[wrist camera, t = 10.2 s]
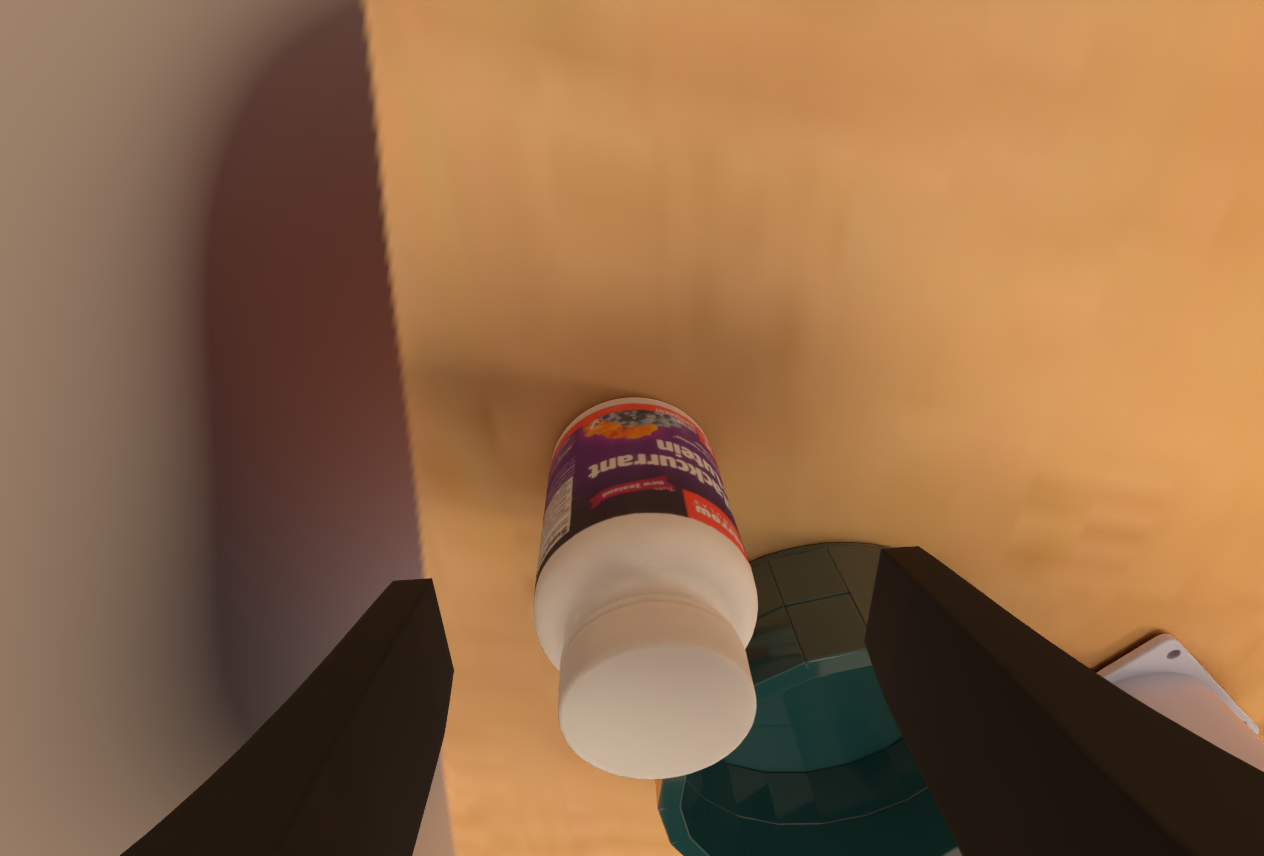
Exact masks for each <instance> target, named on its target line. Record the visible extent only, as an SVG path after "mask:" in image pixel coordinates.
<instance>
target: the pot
mask: <svg viewBox="0 0 1264 856" xmlns="http://www.w3.org/2000/svg"><path fill="white" fill-rule="evenodd" d="M885 548H888V547H884V546H879V545H873V544H862V543H825V544H816V545H808V546H802V547H798V548H793V549H789V550H784V551H780V552H777V553H774V554H771V555H768V556H765V557H762V558H759V559H756V560H754V561H752V562H750V563H749V564H750V566H751V570H752V572H753V577H754V582H755V586H756V590H757V598H758V612H757V620H756V625H755V628H754V632H753V635H752V637H751V639H750V642H749V644H748V645H747V647H746V649H745V651H746V654H747V660H748V664H749V669H750V673H751V677H752V681H753V685H754V689H755V694H756V714H755V718H754V722H753V725H752V727H751V729H750V731H749V732H748V734H747V736H746V737H745V738H744V739H743V741H742V742H741V743H740V744H739V746H738V747H737V748H736V749H735V750H733V751H732V752H731V753H730V754H729V755H727V756H726V757H724V758H723V759H721V760H719V761H718V762H716V763H715V764H713V765H711V766H709V767H706V768H704V769H701V770H699V771H696V772H694V773H691V774H687V775H683V776H678V777H672V778H665V779H655V784H656V795H657V806H658V811H659V814H660V817H661V819H662V822H663V825H664V828H665V830H666V833H667V836H668V839H669V841H670V843H671V845H672V846H673V847H675V848H676V849H677V850H678V851H679V852H680V853H681V854H682V855H683V856H962V855H961V852H960V850H959V848H958V846H957V844H956V842H955V840H954V838H953V836H952V834H951V832H950V830H949V828H948V826H947V824H946V822H945V820H944V818H943V816H942V814H941V812H940V810H939V808H938V806H937V804H936V802H935V800H934V798H933V796H932V794H931V792H930V790H929V788H928V786H927V784H926V782H925V780H924V778H923V776H922V774H921V772H920V770H919V768H918V766H917V764H916V762H915V760H914V758H913V756H912V754H911V752H910V750H909V748H908V746H907V744H906V742H905V740H904V738H903V736H902V734H901V732H900V730H899V728H898V726H897V724H896V722H895V720H894V718H893V716H892V714H891V712H890V710H889V708H888V706H887V704H886V701H885V699H884V696H883V694H882V691H881V688H880V685H879V683H878V680H877V677H876V675H875V672H874V669H873V666H872V663H871V660H870V657H869V654H868V651H867V648H866V645H865V643H864V638H865V633H866V627H867V622H868V617H869V611H870V606H871V600H872V595H873V590H874V584H875V579H876V573H877V568H878V562H879V557H880V552H881V549H885Z"/></svg>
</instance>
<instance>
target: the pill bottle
mask: <svg viewBox="0 0 1264 856" xmlns="http://www.w3.org/2000/svg"><path fill="white" fill-rule="evenodd" d="M757 612H758V598H757V590H756V586H755V582H754V577H753V572H752V570H751V566H750V564H749V561H748V559H747V556H746V553H745V550H744V547H743V544H742V541H741V538H740V535H739V532H738V529H737V526H736V523H735V520H734V517H733V514H732V511H731V508H730V505H729V501H728V498H727V495H726V492H725V489H724V486H723V482H722V479H721V476H720V473H719V469H718V466H717V463H716V460H715V456H714V453H713V451H712V449H711V447H710V444H709V442H708V440H707V438H706V436H705V434H704V432H703V431H702V429H701V428H700V427H699V425H698V424H697V423H696V422H695V421H694V420H693V419H692V418H691V417H689V416H688V415H687V414H686V413H684V412H683V411H681V410H680V409H678V408H676V407H674V406H672V405H670V404H668V403H665V402H662V401H659V400H654V399H650V398H639V397H629V398H619V399H614V400H610V401H606V402H603V403H601V404H598V405H596V406H594V407H592V408H590V409H588V410H586V411H585V412H583V413H582V414H581V415H579V416H578V417H577V418H576V419H574V420H573V421H572V422H571V423H570V424H569V426H568V427H567V428H566V429H565V431H564V432H563V434H562V435H561V437H560V438H559V440H558V442H557V444H556V447H555V449H554V452H553V456H552V461H551V466H550V471H549V479H548V487H547V494H546V503H545V511H544V517H543V528H542V535H541V544H540V552H539V561H538V569H537V575H536V584H535V596H534V623H535V629H536V633H537V636H538V639H539V642H540V644H541V647H542V649H543V651H544V652H545V654H546V656H547V657H548V658H549V660H550V661H551V663H552V664H553V665H554V666H555V667H556V668H557V669H558V670H559V671H560V681H559V715H558V717H559V724H560V728H561V732H562V734H563V737H564V739H565V740H566V742H567V743H568V745H569V746H570V748H571V749H572V750H573V751H574V752H575V753H576V754H577V755H578V756H580V757H581V758H582V759H583V760H584V761H586V762H587V763H589V764H591V765H592V766H594V767H596V768H598V769H601V770H603V771H605V772H608V773H611V774H614V775H618V776H622V777H627V778H635V779H665V778H672V777H678V776H683V775H687V774H691V773H694V772H696V771H699V770H701V769H704V768H706V767H709V766H711V765H713V764H715V763H716V762H718V761H719V760H721V759H723V758H724V757H726V756H727V755H729V754H730V753H731V752H732V751H733V750H735V749H736V748H737V747H738V746H739V744H740V743H741V742H742V741H743V739H744V738H745V737H746V736H747V734H748V732H749V731H750V729H751V727H752V725H753V722H754V718H755V714H756V694H755V689H754V685H753V681H752V677H751V673H750V669H749V664H748V660H747V654H746V651H745V649H746V647H747V645H748V644H749V642H750V639H751V637H752V635H753V632H754V628H755V625H756V620H757Z"/></svg>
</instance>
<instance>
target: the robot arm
mask: <svg viewBox="0 0 1264 856" xmlns="http://www.w3.org/2000/svg"><path fill="white" fill-rule="evenodd" d="M864 643H865V645H866V648H867V651H868V654H869V657H870V660H871V663H872V666H873V669H874V672H875V675H876V677H877V680H878V683H879V685H880V688H881V691H882V694H883V696H884V699H885V701H886V704H887V706H888V708H889V710H890V712H891V714H892V716H893V718H894V720H895V722H896V724H897V726H898V728H899V730H900V732H901V734H902V736H903V738H904V740H905V742H906V744H907V746H908V748H909V750H910V752H911V754H912V756H913V758H914V760H915V762H916V764H917V766H918V768H919V770H920V772H921V774H922V776H923V778H924V780H925V782H926V784H927V786H928V788H929V790H930V792H931V794H932V796H933V798H934V800H935V802H936V804H937V806H938V808H939V810H940V812H941V814H942V816H943V818H944V820H945V822H946V824H947V826H948V828H949V830H950V832H951V834H952V836H953V838H954V840H955V842H956V844H957V846H958V848H959V850H960V852H961V855H962V856H1264V741H1263V740H1262V739H1261V738H1260V737H1259V736H1258V734H1259V731H1260V730H1259V728H1258V726H1257V725H1256V724H1255V723H1254V722H1253V721H1252V720H1251V719H1250V718H1249V717H1248V716H1247V715H1246V713H1245V712H1244V711H1243V710H1242V709H1241V708H1240V707H1239V706H1238V705H1237V704H1236V703H1235V702H1234V700H1233V699H1232V698H1231V697H1230V696H1229V695H1228V694H1227V693H1226V692H1225V691H1224V690H1223V689H1222V687H1221V686H1220V685H1219V684H1218V683H1217V682H1216V681H1215V680H1214V679H1213V678H1212V677H1211V676H1210V674H1209V673H1208V672H1207V671H1206V670H1205V669H1204V668H1203V667H1202V666H1201V665H1200V664H1199V663H1198V661H1197V660H1196V659H1195V658H1194V657H1193V656H1192V655H1191V654H1190V653H1189V652H1188V651H1187V650H1186V648H1185V647H1184V646H1183V645H1182V644H1181V643H1180V642H1179V641H1178V640H1177V639H1176V638H1175V637H1174V636H1173V635H1171V634H1160V635H1158V636H1156V637H1154V638H1153V639H1151V640H1149V641H1148V642H1146V643H1144V644H1143V645H1141V646H1139V647H1138V648H1136V649H1134V650H1133V651H1131V652H1129V653H1128V654H1126V655H1124V656H1123V657H1121V658H1119V659H1118V660H1116V661H1114V662H1113V663H1111V664H1109V665H1108V666H1106V667H1105V668H1103V669H1101V670H1100V671H1098V672H1094V671H1093V670H1091V669H1090V668H1088V667H1086V666H1085V665H1083V664H1082V663H1080V662H1079V661H1077V660H1076V659H1074V658H1073V657H1071V656H1070V655H1069V654H1067V653H1066V652H1064V651H1063V650H1061V649H1060V648H1058V647H1057V646H1055V645H1054V644H1052V643H1051V642H1050V641H1048V640H1047V639H1045V638H1044V637H1043V636H1041V635H1040V634H1038V633H1037V632H1035V631H1034V630H1033V629H1031V628H1030V627H1028V626H1027V625H1026V624H1024V623H1023V622H1021V621H1020V620H1019V619H1017V618H1016V617H1014V616H1013V615H1012V614H1010V613H1009V612H1008V611H1006V610H1005V609H1004V608H1002V607H1001V606H999V605H998V604H997V603H995V602H994V601H993V600H991V599H990V598H989V597H987V596H986V595H985V594H983V593H982V592H981V591H979V590H978V589H976V588H975V587H974V586H972V585H971V584H970V583H968V582H967V581H966V580H964V579H963V578H962V577H960V576H959V575H958V574H956V573H955V572H954V571H952V570H951V569H950V568H948V567H947V566H945V565H944V564H943V563H941V562H940V561H939V560H937V559H936V558H934V557H933V556H932V555H930V554H929V553H927V552H926V551H924V550H923V549H922V548H920V547H919V546H915V547H900V548H885V549H881V552H880V557H879V562H878V568H877V573H876V579H875V584H874V590H873V595H872V600H871V606H870V611H869V617H868V622H867V627H866V633H865V638H864ZM453 673H454V668H453V664H452V660H451V656H450V652H449V648H448V643H447V639H446V635H445V631H444V627H443V622H442V618H441V614H440V610H439V606H438V602H437V597H436V593H435V589H434V585H433V581H432V578H430V579H415V580H399V581H393V582H392V583H391V584H390V585H389V586H388V587H387V588H386V589H385V590H384V592H383V593H382V594H381V595H380V596H379V597H378V598H377V600H376V601H375V602H374V603H373V604H372V605H371V606H370V608H369V609H368V610H367V611H366V612H365V613H364V614H363V616H362V617H361V618H360V619H359V620H358V622H357V623H356V624H355V625H354V626H353V627H352V629H351V630H350V631H349V632H348V633H347V634H346V635H345V637H344V638H343V639H342V640H341V641H340V642H339V643H338V645H337V646H336V647H335V648H334V649H333V650H332V652H331V653H330V654H329V655H328V656H327V657H326V658H325V659H324V660H323V661H322V663H321V664H320V665H319V666H318V667H317V668H316V669H315V670H314V671H313V672H312V674H311V675H310V676H309V677H308V678H307V679H306V680H305V681H304V682H303V683H302V685H301V686H300V687H299V688H298V689H297V690H296V691H295V692H294V693H293V694H292V695H291V697H290V698H289V699H288V700H287V701H286V702H285V703H284V704H283V705H282V706H281V707H280V708H279V709H278V710H277V711H276V712H275V713H274V714H273V715H272V716H271V717H270V718H269V719H268V720H267V721H266V722H265V723H264V724H263V725H262V726H261V728H259V730H258V731H257V732H256V733H255V734H254V735H253V736H252V737H251V738H250V739H249V740H248V741H247V742H246V743H245V744H244V745H243V746H242V747H241V748H240V749H239V750H238V751H237V752H236V753H235V754H234V755H233V756H232V757H231V758H230V759H229V760H228V761H227V762H225V763H224V764H223V765H222V766H221V767H220V768H219V769H218V770H217V771H216V772H215V773H214V774H213V775H212V776H211V777H210V778H209V779H208V780H207V781H205V782H204V783H203V784H202V785H201V786H200V787H199V788H198V789H197V790H196V791H194V792H193V794H191V795H190V796H189V797H188V798H187V799H185V800H184V801H183V802H182V803H181V804H180V805H179V806H178V807H177V808H175V809H174V811H172V812H171V813H170V814H169V815H168V816H166V817H165V818H164V819H163V820H162V821H161V822H160V823H158V824H157V825H156V826H155V827H154V828H153V829H152V830H150V831H149V832H148V833H147V834H146V835H145V836H143V837H142V838H141V839H140V840H138V841H137V842H136V843H135V844H133V845H132V846H131V847H130V848H129V849H127V850H126V851H125V852H124V853H122V854H121V855H120V856H412V854H413V850H414V846H415V843H416V839H417V836H418V832H419V828H420V824H421V821H422V817H423V813H424V809H425V806H426V802H427V799H428V795H429V791H430V787H431V783H432V780H433V776H434V772H435V769H436V765H437V761H438V757H439V753H440V750H441V746H442V742H443V738H444V734H445V728H446V721H447V715H448V709H449V702H450V695H451V687H452V680H453Z"/></svg>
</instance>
